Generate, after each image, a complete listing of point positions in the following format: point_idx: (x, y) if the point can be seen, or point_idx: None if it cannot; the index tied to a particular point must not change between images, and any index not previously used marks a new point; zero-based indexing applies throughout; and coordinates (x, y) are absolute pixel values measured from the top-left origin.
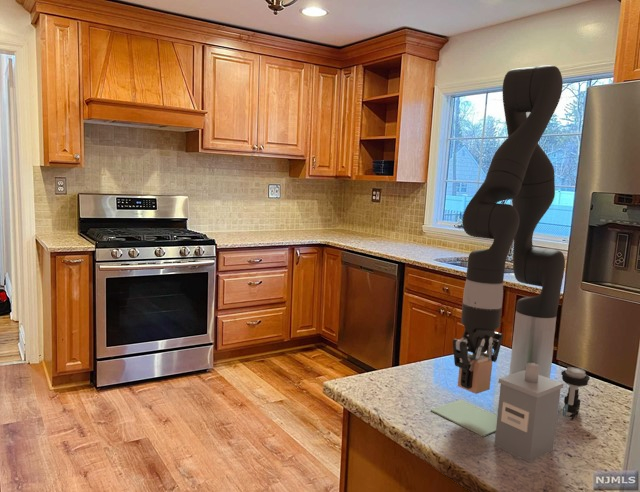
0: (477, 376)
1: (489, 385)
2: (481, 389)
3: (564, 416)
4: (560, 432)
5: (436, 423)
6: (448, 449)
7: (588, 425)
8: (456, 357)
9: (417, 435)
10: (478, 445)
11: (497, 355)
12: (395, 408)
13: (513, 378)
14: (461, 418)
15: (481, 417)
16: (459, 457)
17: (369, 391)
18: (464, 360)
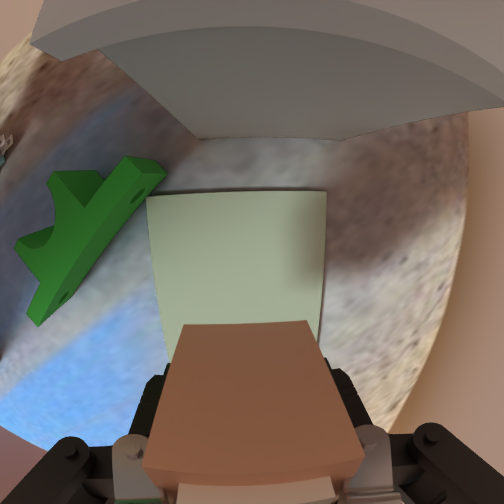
0: (335, 386)
1: (184, 337)
2: (263, 330)
3: (3, 159)
4: (76, 96)
5: (363, 319)
6: (445, 208)
7: (2, 109)
8: (442, 490)
9: (440, 292)
10: (379, 170)
11: (45, 462)
12: (364, 402)
13: (485, 5)
14: (285, 306)
15: (217, 279)
16: (451, 169)
17: None
18: (477, 457)
